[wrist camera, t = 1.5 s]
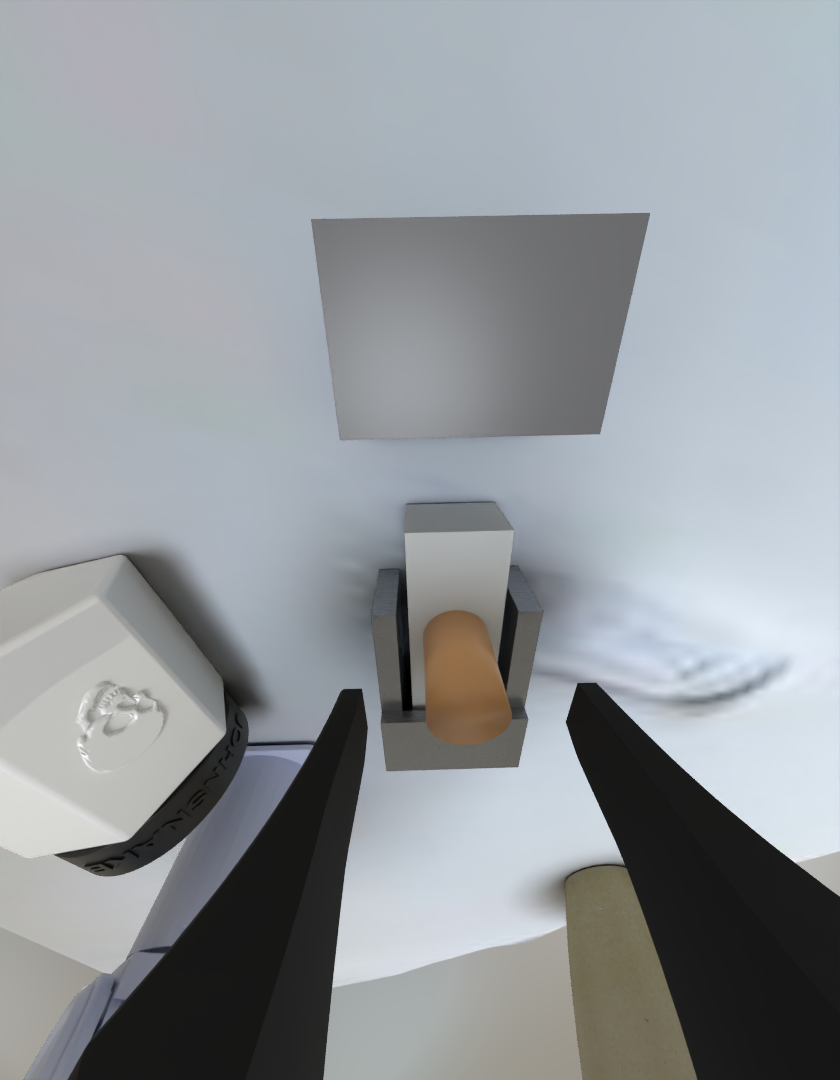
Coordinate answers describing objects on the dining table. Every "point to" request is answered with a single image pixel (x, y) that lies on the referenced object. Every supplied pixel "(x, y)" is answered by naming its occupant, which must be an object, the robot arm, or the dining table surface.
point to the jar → (106, 720)
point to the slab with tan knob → (458, 617)
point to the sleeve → (407, 728)
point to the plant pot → (619, 984)
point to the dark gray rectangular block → (475, 321)
